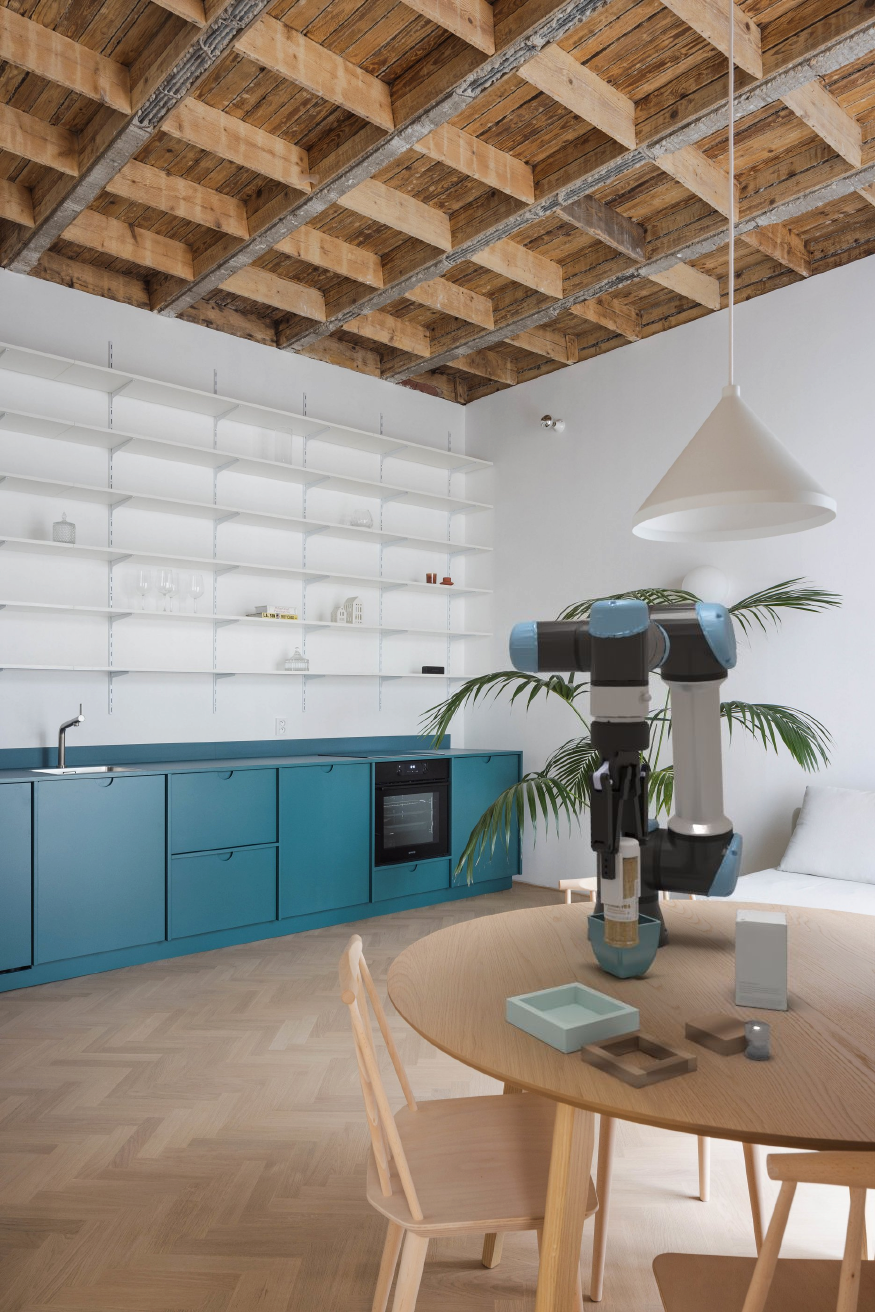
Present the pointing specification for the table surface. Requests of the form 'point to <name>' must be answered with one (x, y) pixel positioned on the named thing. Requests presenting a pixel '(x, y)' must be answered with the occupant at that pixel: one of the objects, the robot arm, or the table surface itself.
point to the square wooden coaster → (717, 1033)
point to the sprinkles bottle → (625, 901)
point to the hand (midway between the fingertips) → (620, 899)
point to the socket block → (669, 1066)
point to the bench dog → (757, 1040)
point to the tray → (571, 1016)
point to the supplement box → (761, 959)
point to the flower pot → (629, 958)
